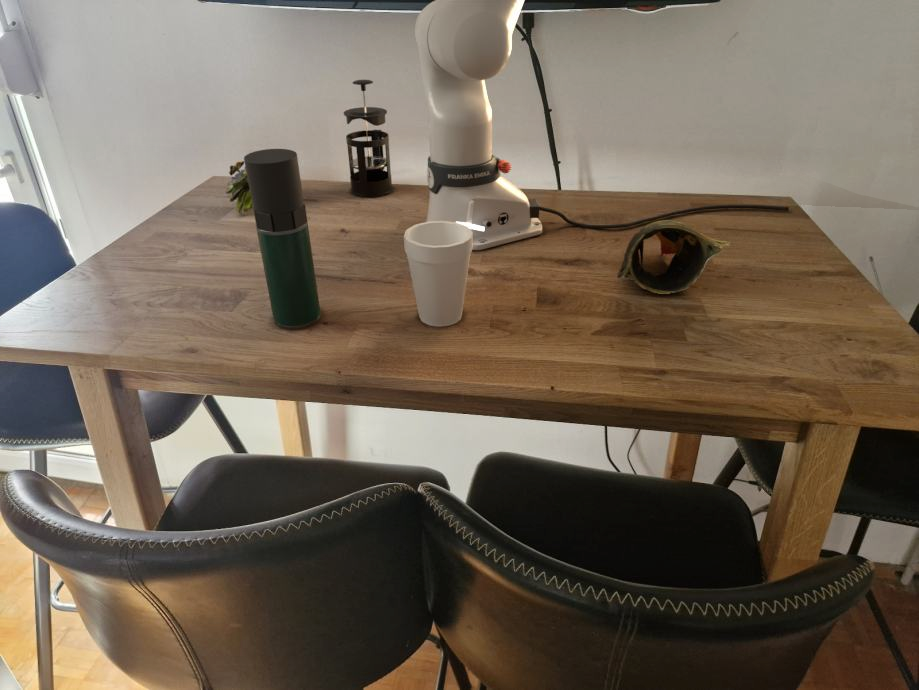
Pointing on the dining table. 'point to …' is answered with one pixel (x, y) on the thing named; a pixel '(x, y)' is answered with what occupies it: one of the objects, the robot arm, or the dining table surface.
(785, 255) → the dining table surface
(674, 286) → the pot
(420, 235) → the foam cup
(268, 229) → the lid
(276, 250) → the thermos
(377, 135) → the french press
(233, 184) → the passion flower
